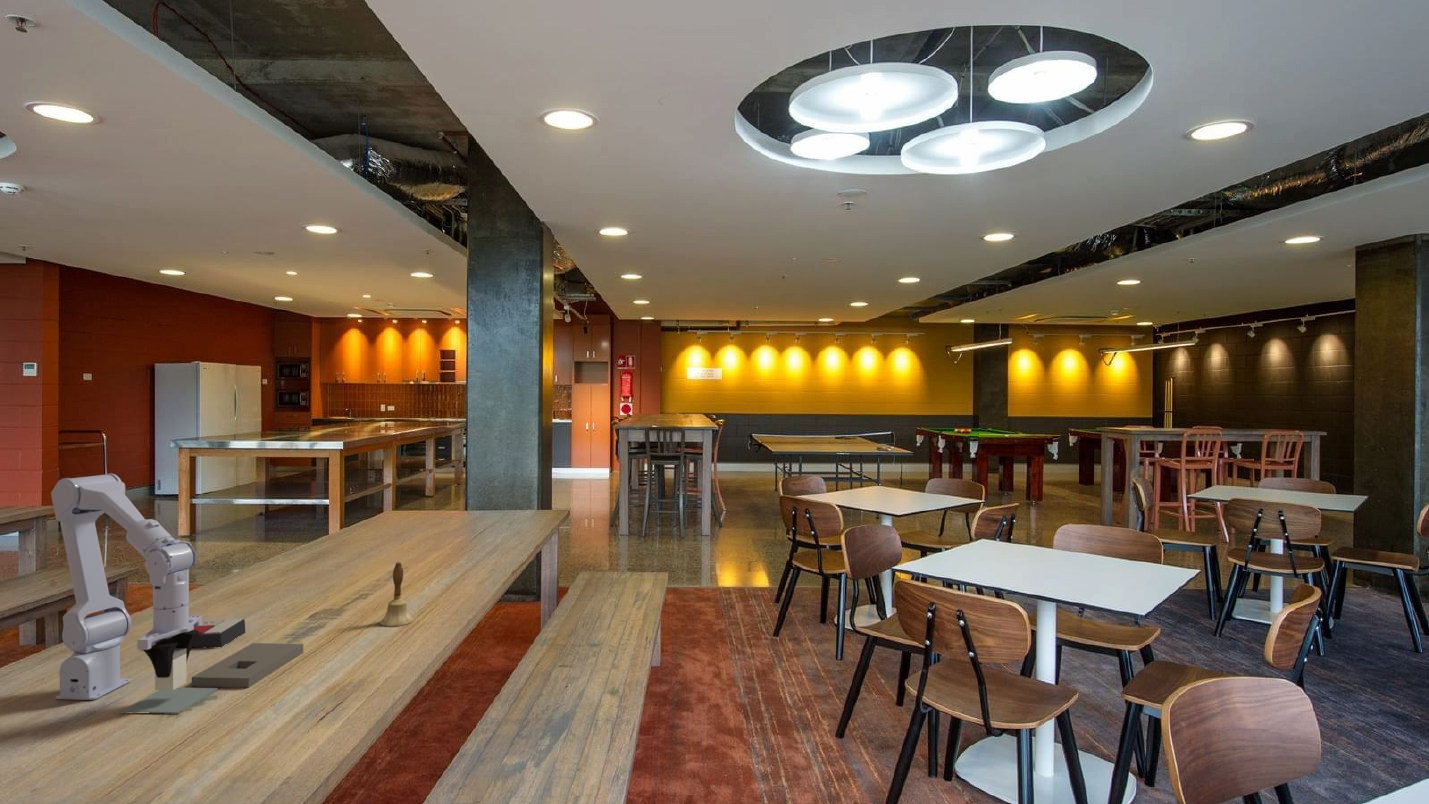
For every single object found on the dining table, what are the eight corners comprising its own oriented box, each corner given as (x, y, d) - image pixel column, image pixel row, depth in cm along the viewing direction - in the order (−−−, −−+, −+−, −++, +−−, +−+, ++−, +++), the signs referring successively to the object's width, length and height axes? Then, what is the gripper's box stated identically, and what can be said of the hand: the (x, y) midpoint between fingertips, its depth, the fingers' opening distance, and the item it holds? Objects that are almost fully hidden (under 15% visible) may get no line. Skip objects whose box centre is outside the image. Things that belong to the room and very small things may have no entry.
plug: (173, 690, 143) (173, 655, 143) (154, 690, 143) (154, 654, 143) (186, 682, 147) (186, 648, 147) (168, 682, 147) (168, 648, 147)
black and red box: (182, 620, 183) (245, 616, 185) (183, 637, 184) (246, 632, 185) (153, 635, 172) (220, 630, 174) (154, 653, 173) (221, 648, 174)
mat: (178, 714, 139) (178, 712, 139) (121, 713, 139) (121, 711, 139) (217, 690, 150) (217, 688, 150) (164, 689, 150) (164, 687, 150)
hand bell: (404, 615, 201) (404, 557, 200) (419, 621, 195) (419, 562, 195) (374, 622, 194) (374, 563, 194) (389, 629, 189) (389, 568, 189)
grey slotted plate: (248, 687, 152) (248, 678, 152) (191, 686, 152) (191, 677, 152) (303, 652, 172) (303, 644, 172) (252, 651, 172) (252, 643, 172)
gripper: (163, 617, 137) (163, 688, 138) (216, 594, 152) (216, 659, 152) (126, 616, 137) (126, 687, 138) (182, 594, 152) (182, 658, 152)
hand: (171, 672), depth 145 cm, fingers closed on plug, 4 cm apart
